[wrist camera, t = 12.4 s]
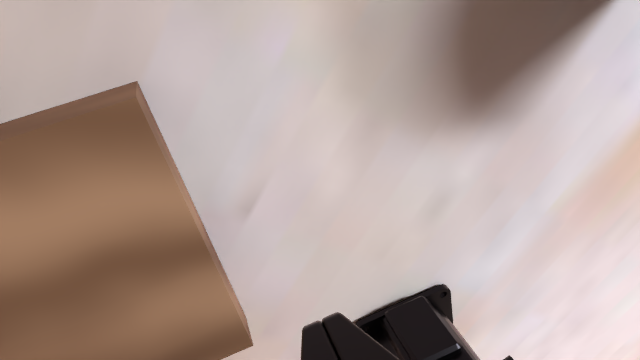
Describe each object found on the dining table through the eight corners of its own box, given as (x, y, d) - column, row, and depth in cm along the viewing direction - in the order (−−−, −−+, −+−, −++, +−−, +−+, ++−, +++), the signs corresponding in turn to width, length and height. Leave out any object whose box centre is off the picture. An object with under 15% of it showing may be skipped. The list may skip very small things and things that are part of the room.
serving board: (245, 317, 25) (253, 345, 23) (21, 411, 23) (12, 449, 21) (137, 81, 17) (136, 97, 16) (-211, 190, 15) (-255, 222, 14)
